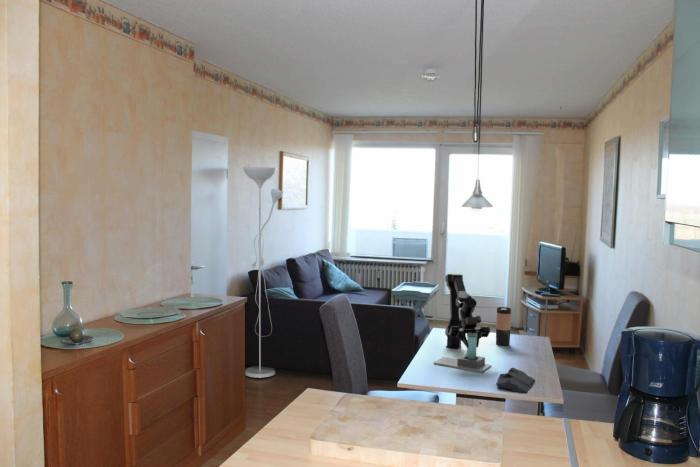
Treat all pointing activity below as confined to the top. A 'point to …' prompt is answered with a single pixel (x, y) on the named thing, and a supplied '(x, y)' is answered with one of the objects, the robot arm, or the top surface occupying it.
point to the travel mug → (503, 326)
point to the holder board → (454, 364)
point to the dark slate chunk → (515, 381)
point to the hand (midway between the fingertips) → (472, 347)
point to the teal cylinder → (471, 345)
